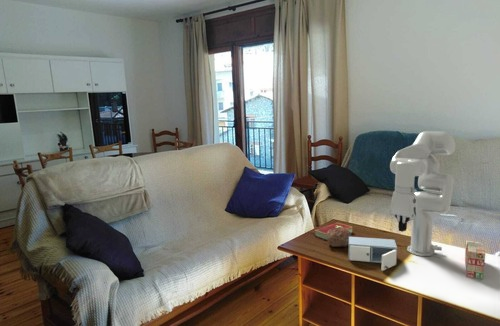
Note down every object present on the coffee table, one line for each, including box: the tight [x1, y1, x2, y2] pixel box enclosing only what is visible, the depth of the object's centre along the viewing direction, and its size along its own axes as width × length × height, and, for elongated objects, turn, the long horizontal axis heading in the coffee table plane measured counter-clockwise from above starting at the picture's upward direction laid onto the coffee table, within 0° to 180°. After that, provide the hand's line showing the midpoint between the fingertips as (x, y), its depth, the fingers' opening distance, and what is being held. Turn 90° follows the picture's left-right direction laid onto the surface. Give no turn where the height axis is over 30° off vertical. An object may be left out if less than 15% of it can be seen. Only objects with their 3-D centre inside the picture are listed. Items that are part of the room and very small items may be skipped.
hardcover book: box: [313, 222, 354, 241], centre depth 207 cm, size 12×21×4 cm, turn 128°
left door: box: [380, 247, 398, 272], centre depth 161 cm, size 11×2×8 cm, turn 125°
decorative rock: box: [326, 228, 353, 248], centre depth 190 cm, size 13×11×10 cm
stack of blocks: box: [464, 240, 486, 281], centre depth 160 cm, size 21×6×12 cm, turn 150°
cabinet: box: [348, 236, 398, 264], centre depth 172 cm, size 22×12×8 cm, turn 75°
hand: (402, 230), depth 152 cm, fingers closed
